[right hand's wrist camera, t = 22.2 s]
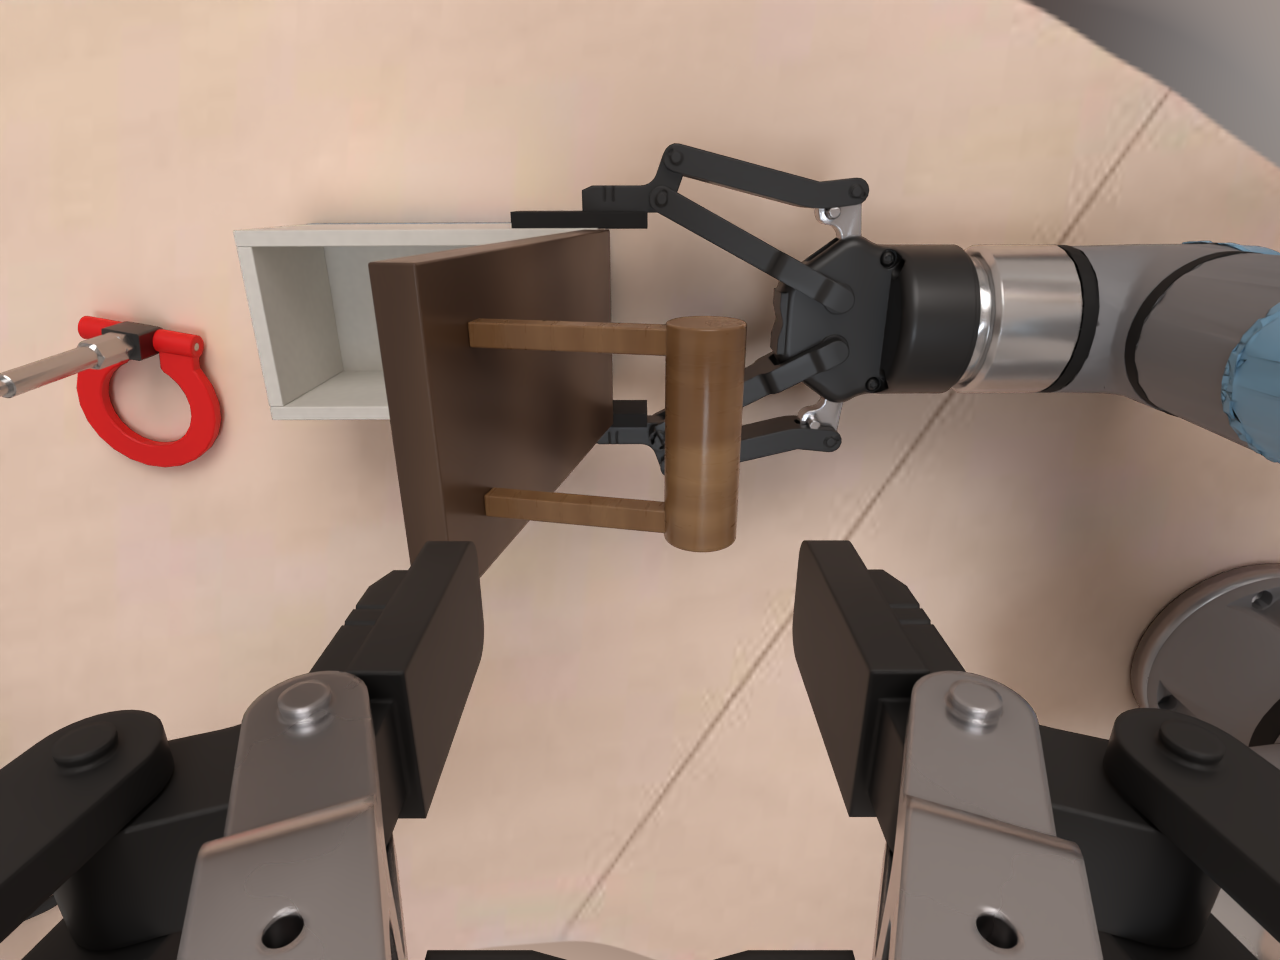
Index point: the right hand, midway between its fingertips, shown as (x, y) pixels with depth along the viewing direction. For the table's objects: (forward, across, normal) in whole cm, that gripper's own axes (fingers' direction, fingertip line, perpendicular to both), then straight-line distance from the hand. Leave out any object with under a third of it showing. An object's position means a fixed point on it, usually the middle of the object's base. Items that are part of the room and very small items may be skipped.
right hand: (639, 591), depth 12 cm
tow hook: (+34, -31, -5) cm, 46 cm away
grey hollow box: (+33, -10, 0) cm, 35 cm away
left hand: (+27, -6, 0) cm, 28 cm away
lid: (+16, -4, 0) cm, 16 cm away
